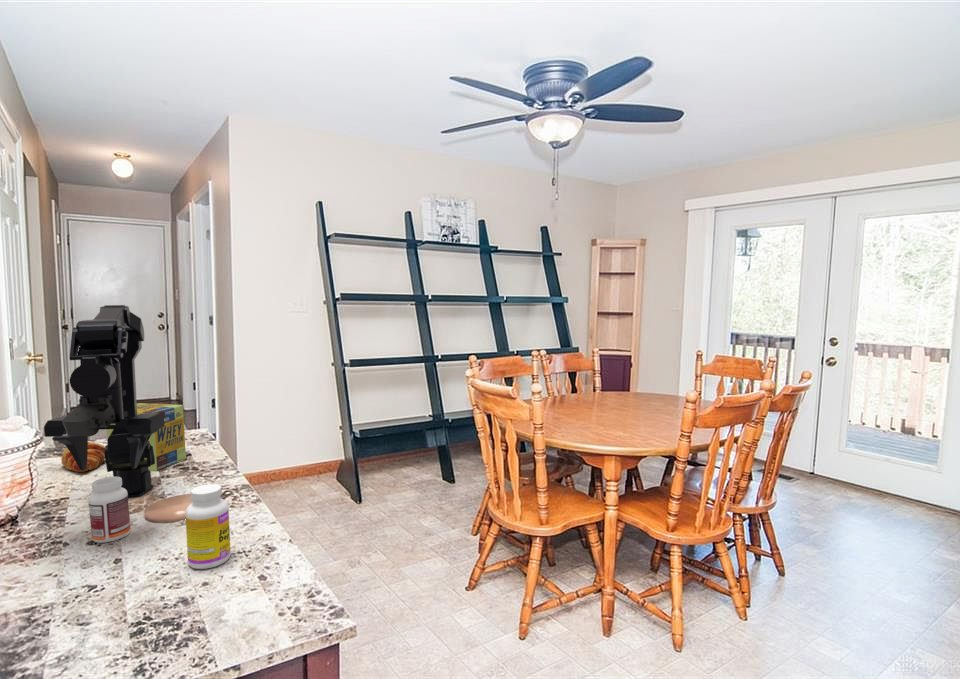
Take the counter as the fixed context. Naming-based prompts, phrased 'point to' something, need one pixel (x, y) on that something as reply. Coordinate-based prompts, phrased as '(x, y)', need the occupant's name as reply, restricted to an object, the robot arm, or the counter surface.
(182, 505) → the terracotta plate
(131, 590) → the counter surface
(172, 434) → the protein box
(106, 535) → the pill bottle
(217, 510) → the supplement bottle
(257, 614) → the counter surface
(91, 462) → the croissant
